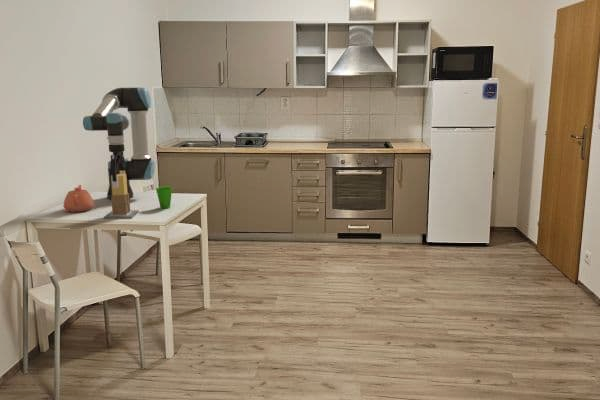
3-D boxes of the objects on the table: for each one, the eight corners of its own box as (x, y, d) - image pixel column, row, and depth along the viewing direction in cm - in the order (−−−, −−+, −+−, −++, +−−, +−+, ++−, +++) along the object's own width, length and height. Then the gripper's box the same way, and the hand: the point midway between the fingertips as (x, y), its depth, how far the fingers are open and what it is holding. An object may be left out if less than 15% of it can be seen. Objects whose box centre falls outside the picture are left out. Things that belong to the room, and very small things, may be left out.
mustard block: (115, 193, 284) (114, 174, 282) (127, 193, 285) (126, 174, 282) (112, 195, 278) (110, 176, 276) (124, 195, 279) (122, 175, 277)
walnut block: (116, 211, 287) (115, 193, 285) (130, 211, 287) (128, 192, 285) (112, 214, 280) (111, 195, 278) (126, 214, 280) (125, 195, 278)
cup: (176, 206, 304) (175, 187, 302) (168, 210, 296) (167, 190, 293) (162, 205, 306) (161, 186, 304) (153, 209, 298) (152, 189, 296)
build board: (112, 212, 290) (111, 210, 290) (138, 212, 291) (138, 209, 291) (103, 218, 277) (103, 216, 276) (131, 218, 277) (131, 216, 277)
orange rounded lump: (67, 206, 306) (65, 184, 304) (96, 204, 310) (94, 183, 307) (61, 215, 285) (58, 192, 283) (91, 213, 289) (89, 190, 286)
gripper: (116, 141, 288) (119, 181, 293) (100, 146, 264) (104, 189, 268) (130, 141, 288) (133, 180, 293) (116, 146, 264) (119, 189, 268)
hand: (119, 185), depth 280 cm, fingers open, 13 cm apart
